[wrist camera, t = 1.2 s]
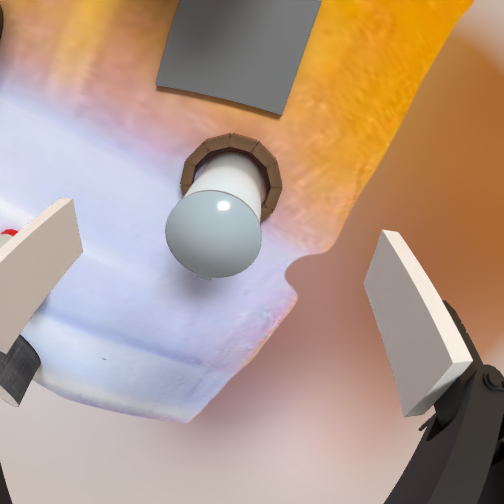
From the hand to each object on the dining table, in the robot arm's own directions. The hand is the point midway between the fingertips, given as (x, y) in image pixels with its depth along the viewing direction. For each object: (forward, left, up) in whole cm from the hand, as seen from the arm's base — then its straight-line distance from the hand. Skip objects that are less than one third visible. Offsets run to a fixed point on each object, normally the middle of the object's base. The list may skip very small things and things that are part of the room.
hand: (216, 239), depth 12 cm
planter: (-50, -65, -22) cm, 84 cm away
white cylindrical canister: (-1, -8, -22) cm, 23 cm away
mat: (-5, +10, -22) cm, 25 cm away
